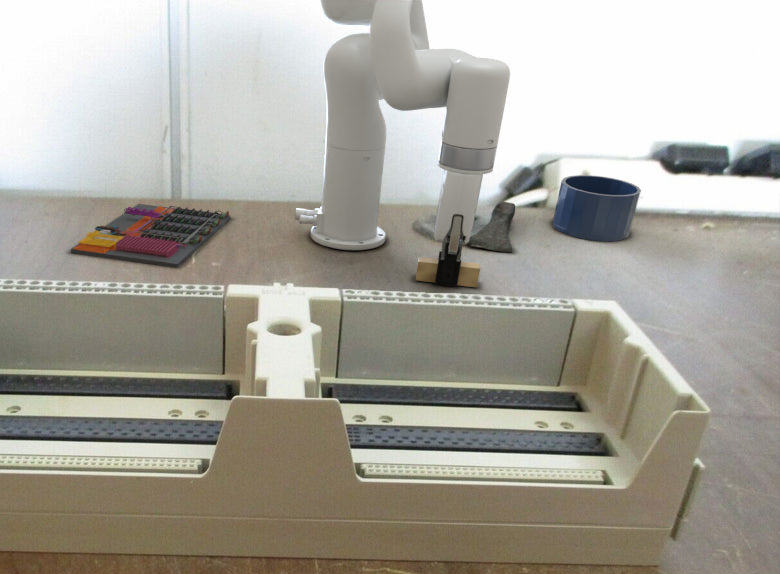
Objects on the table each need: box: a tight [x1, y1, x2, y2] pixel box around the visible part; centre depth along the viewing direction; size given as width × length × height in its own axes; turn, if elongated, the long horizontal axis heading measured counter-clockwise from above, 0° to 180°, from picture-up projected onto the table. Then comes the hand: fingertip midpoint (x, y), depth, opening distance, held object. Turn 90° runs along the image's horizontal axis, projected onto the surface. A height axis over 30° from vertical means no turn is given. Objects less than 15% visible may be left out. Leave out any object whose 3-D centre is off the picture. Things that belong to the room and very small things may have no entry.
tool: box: [466, 201, 516, 253], centre depth 134 cm, size 21×8×3 cm, turn 160°
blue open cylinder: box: [552, 174, 642, 242], centre depth 137 cm, size 13×13×8 cm
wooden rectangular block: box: [415, 256, 481, 288], centre depth 113 cm, size 9×2×3 cm, turn 79°
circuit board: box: [70, 203, 231, 268], centre depth 126 cm, size 25×18×3 cm
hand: (446, 280), depth 114 cm, fingers closed on wooden rectangular block, 2 cm apart
